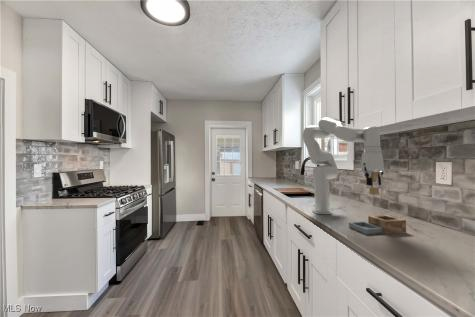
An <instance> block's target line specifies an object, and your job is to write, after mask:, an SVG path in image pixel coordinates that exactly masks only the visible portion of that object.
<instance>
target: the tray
mask: <svg viewBox="0 0 475 317" xmlns="http://www.w3.org/2000/svg"><path fill="white" fill-rule="evenodd" d="M348 228H349V229H352V230H354V231H357V232H359V233H361V234H364V235H365V236H370V235H382V234H384V233H383V228H381V227H378V226H375V225H372V224H370V223H368V221H367V222H366V221H353V222H348Z"/></svg>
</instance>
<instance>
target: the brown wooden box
mask: <svg viewBox="0 0 475 317" xmlns="http://www.w3.org/2000/svg"><path fill="white" fill-rule="evenodd" d="M367 223H370V224H372V225H375V226H378V227H381V228H383V234H385V235H395V234H396V235H397V234H405V233H407V221H406V219H403V218H399V217H397V216H392V215H389V214H378V215H368V220H367Z"/></svg>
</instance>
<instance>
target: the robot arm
mask: <svg viewBox="0 0 475 317" xmlns="http://www.w3.org/2000/svg"><path fill="white" fill-rule="evenodd" d="M331 135H334V136H335V137H336V138H337V139H340V140H342V141H344V142H347V143H363V152H362V154H361V163H360V166H361V167H360V168H361V169H360V173H361V174H362V175H363V176H364V178H365V180H366V181H365V182H366V186H369V185H370V186H371V185H372V178H371V173H372V172H373V171H375V169H378V181H379V186H381V185H382V181H381V179H382V178H383V175H384V174H385V173H386V168H385V164H384V157H383V154H382V148H381V129H380V127H379V126H367V127H364V128H352V127H351V128H350V127H347V126H345V123H344V122H343V121H341V120H339V119H337V118H336V117H335V118H334V117H323V118H321V119H320V120H319V122H318V125H309V126H306V127H305V128H304V129H303V131H302V140H303V143H304V145H305V147H306V150H307V153H308V156H309V158H310V161H311V163H312V164H313V165H317V166H315V167H314V168H313V169H312V177H313V182H314V183H313V184H314V205H313V207H314V208H313V209H312V213H315V214H318V215H331V214H333V213H334V212H333V210H331V194H330V192H331V191H330V189H331V188H330V183H329V181H328V180H333V179H336V178H337V177H338V176H339V170H338V166H337V164H336V160H335V157H334V156H333V154H332V152H330V151H328V150H322V149H321V147H320V144H319V142H318V141H317V140H316V139H326V138H327V137H329V136H331Z"/></svg>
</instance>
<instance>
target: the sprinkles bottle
mask: <svg viewBox="0 0 475 317" xmlns="http://www.w3.org/2000/svg"><path fill="white" fill-rule="evenodd" d="M371 178H372V185H371V186H370V185H368V189H369V190H368V191H369V192H368V194H369V195H379V194H380V189H379V188H380V185H379V181H378V169H375V171H373V172H372V173H371Z"/></svg>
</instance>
